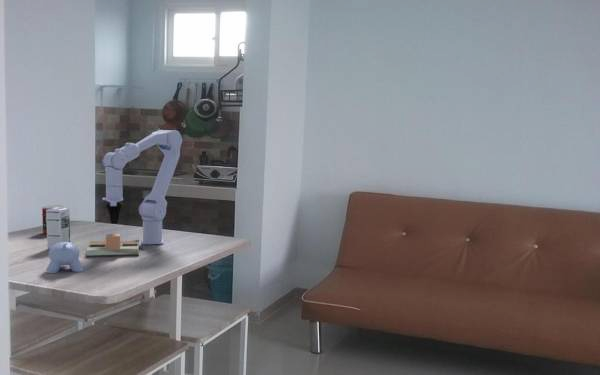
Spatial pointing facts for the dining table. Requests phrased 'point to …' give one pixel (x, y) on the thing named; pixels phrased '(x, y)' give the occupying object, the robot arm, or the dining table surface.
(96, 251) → the board
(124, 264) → the dining table surface
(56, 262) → the hippopotamus toy
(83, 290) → the dining table surface
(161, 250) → the dining table surface
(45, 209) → the canned food
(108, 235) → the terracotta cube
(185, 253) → the dining table surface
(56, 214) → the syrup box
